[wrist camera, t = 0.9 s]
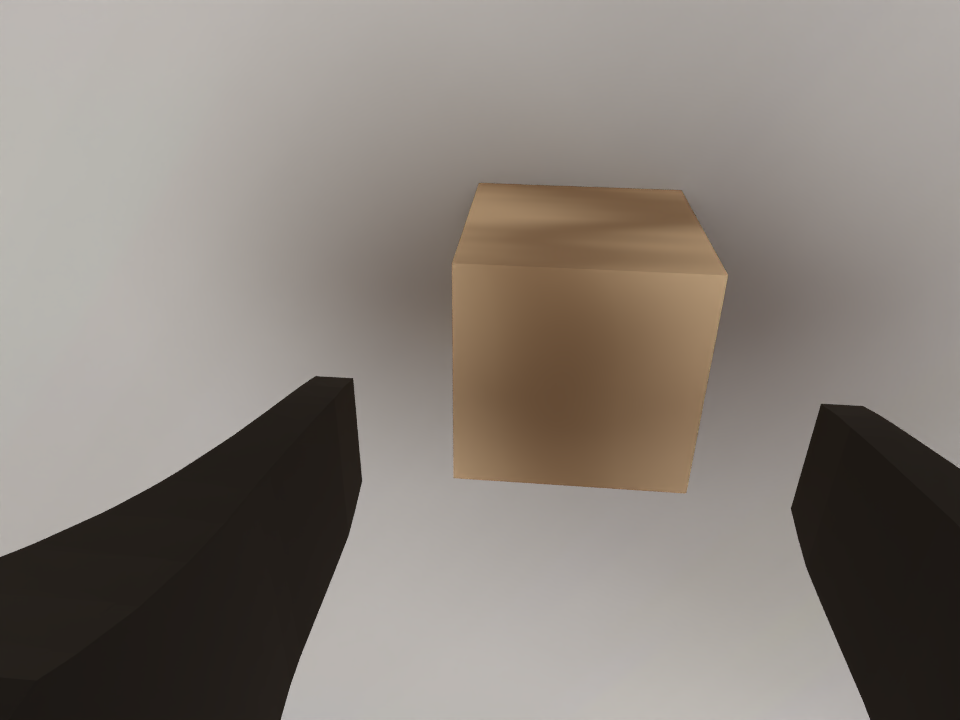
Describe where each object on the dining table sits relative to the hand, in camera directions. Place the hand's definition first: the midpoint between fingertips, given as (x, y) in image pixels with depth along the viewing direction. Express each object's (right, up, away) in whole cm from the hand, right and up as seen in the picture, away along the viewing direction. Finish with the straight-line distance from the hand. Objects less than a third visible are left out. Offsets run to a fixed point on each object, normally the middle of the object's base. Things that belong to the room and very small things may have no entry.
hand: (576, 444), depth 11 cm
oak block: (+1, +3, +6) cm, 7 cm away
